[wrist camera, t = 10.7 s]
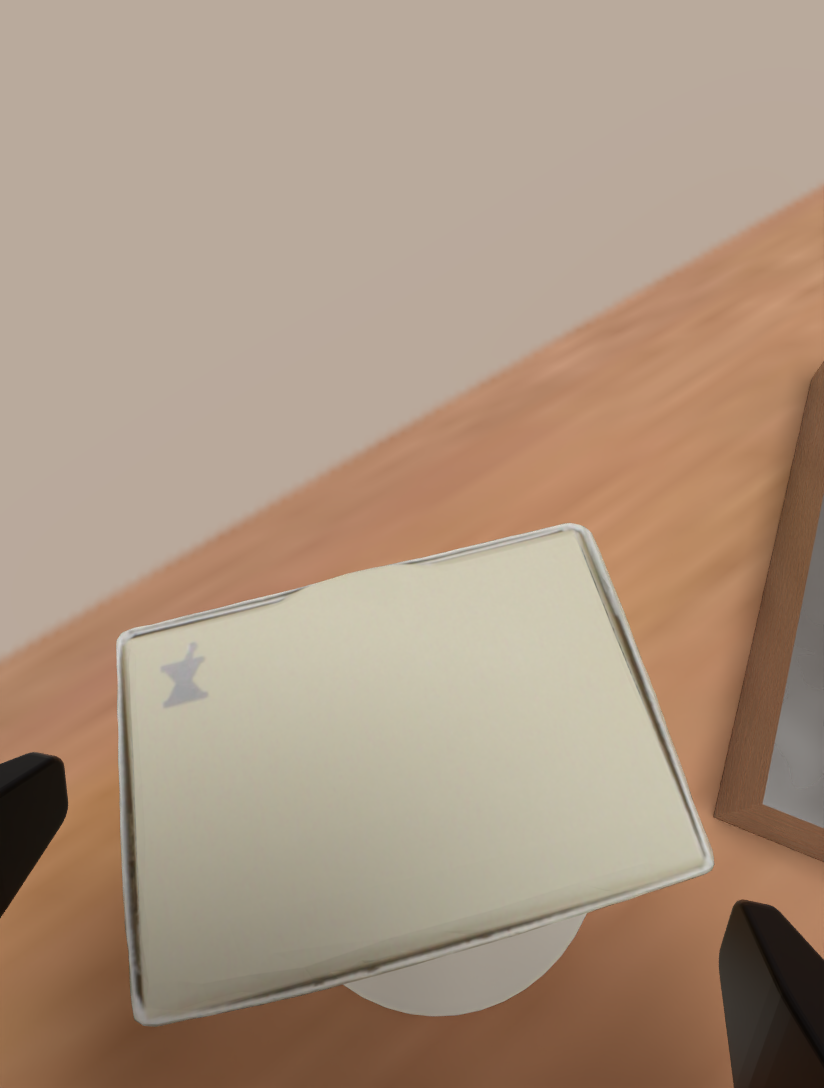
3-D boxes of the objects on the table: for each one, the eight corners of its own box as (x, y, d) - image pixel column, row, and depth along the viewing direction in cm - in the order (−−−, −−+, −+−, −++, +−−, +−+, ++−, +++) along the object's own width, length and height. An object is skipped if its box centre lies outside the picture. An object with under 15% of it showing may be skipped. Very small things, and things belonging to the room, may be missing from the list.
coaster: (536, 1084, 16) (538, 1091, 16) (217, 914, 18) (209, 915, 18) (636, 729, 20) (640, 725, 19) (357, 621, 22) (354, 615, 21)
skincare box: (332, 945, 17) (88, 1060, 6) (305, 772, 19) (82, 632, 8) (575, 880, 17) (744, 883, 6) (524, 716, 19) (587, 505, 8)
